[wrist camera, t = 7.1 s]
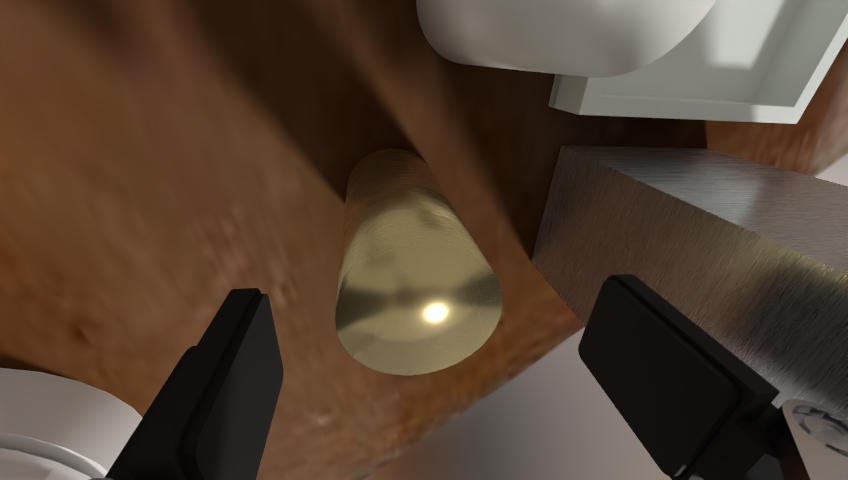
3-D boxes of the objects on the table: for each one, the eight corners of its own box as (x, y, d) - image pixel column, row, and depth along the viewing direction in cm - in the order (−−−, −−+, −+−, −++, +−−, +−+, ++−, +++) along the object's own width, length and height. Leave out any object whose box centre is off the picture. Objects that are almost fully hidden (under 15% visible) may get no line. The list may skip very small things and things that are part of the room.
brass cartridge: (344, 147, 15) (328, 248, 7) (439, 148, 16) (517, 242, 8) (349, 233, 17) (341, 382, 9) (432, 230, 18) (488, 366, 10)
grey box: (561, 145, 17) (1019, 352, 5) (708, 148, 18) (1308, 311, 7) (529, 267, 20) (756, 549, 9) (654, 260, 22) (985, 492, 10)
